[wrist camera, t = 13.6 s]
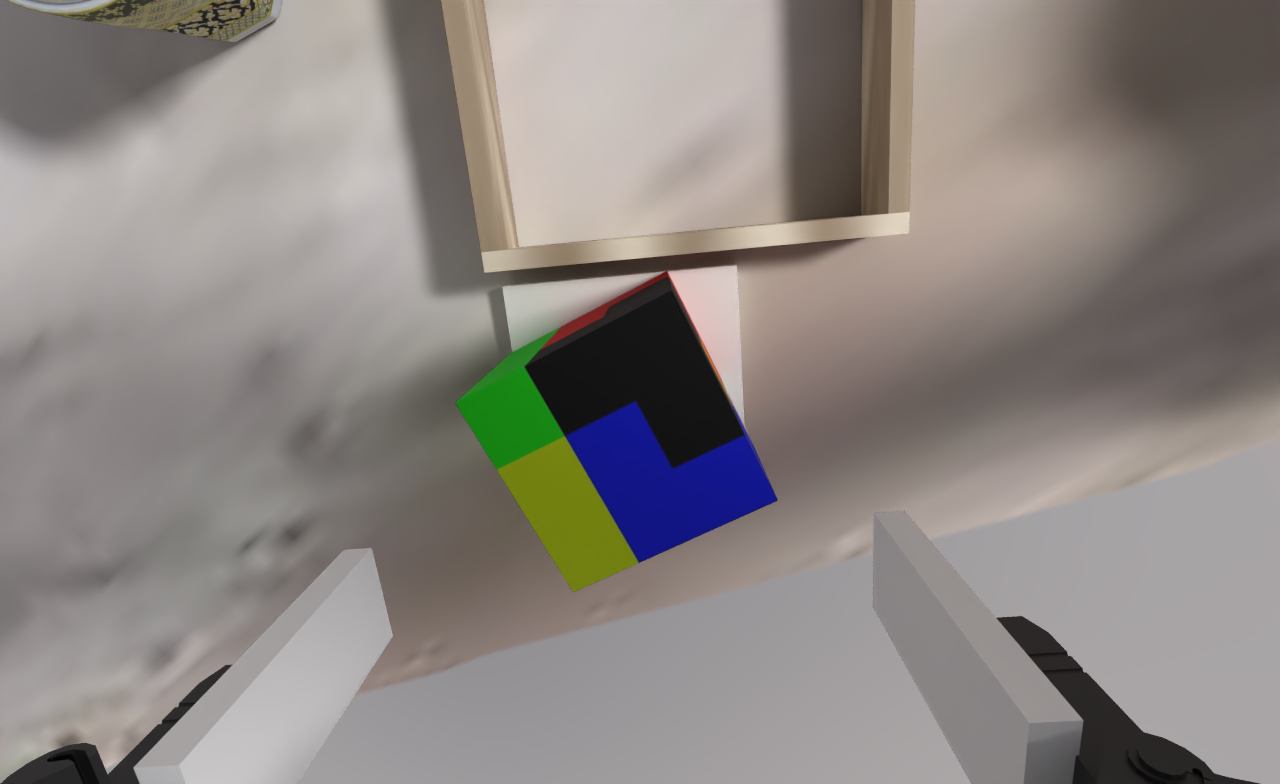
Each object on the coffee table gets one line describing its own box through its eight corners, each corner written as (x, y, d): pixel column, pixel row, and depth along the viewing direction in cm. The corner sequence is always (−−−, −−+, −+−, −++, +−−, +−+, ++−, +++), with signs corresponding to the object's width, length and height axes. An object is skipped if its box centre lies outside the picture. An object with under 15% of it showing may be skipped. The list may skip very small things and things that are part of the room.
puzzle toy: (744, 424, 35) (777, 500, 25) (595, 495, 37) (573, 592, 27) (667, 270, 33) (671, 290, 23) (511, 352, 34) (455, 402, 25)
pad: (734, 264, 34) (736, 265, 33) (744, 477, 37) (747, 484, 36) (506, 285, 34) (502, 286, 33) (537, 492, 38) (534, 499, 37)
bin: (886, -242, 27) (923, -318, 24) (879, 232, 33) (909, 233, 29) (436, -183, 28) (402, -246, 25) (503, 267, 34) (484, 272, 30)
